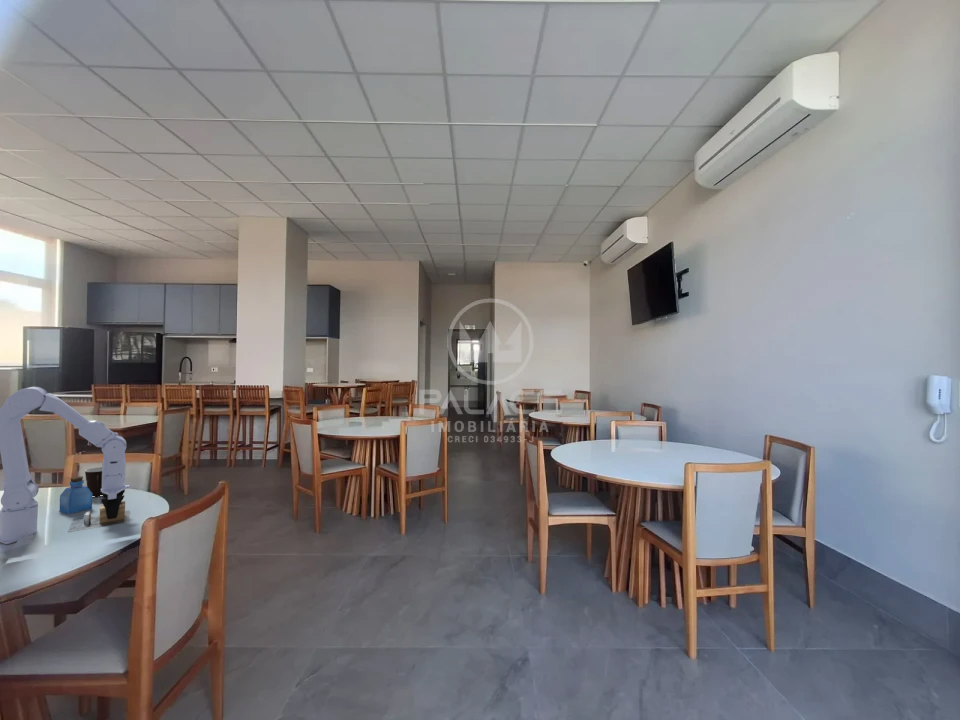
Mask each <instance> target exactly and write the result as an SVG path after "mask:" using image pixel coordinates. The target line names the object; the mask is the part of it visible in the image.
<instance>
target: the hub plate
mask: <svg viewBox="0 0 960 720" xmlns="http://www.w3.org/2000/svg"><path fill="white" fill-rule="evenodd" d="M130 512H131V510H129V509H128V510H125V519H121V520H115V521H109V522H103V523H100V514H99V515H92V513H91V511H85V513H83V517H80V518H73V519H72V521H71V524H70V525H69V528H68V530H67V533H71V532H72V533H73V532H77V531H83V530H89V529H96V528H101V527H106V526H107V527H108V526H113V525H118V524H119V525H120V524H126V523H130V514H131V513H130Z"/></svg>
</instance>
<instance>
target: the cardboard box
mask: <svg viewBox="0 0 960 720" xmlns="http://www.w3.org/2000/svg"><path fill="white" fill-rule="evenodd" d="M125 511H126V500H124V501H123V500H122V501H121V503H120V506H119V510H118V515H117V517H116V518H113V519H108V518H107V515H106V510H105V507H104V505H103V503H102V504H100V507H99V515H100V523H103V522H109V521H115V520H121V519H125Z"/></svg>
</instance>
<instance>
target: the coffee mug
mask: <svg viewBox="0 0 960 720" xmlns="http://www.w3.org/2000/svg"><path fill="white" fill-rule="evenodd" d="M84 473H85V480H86V486H87V487H88V489H89V490H90V491H91V492H92V496H100V495H102V494H103V493H102V492H101V489H102V466H98V467H93V468H88V469H85V470H84Z"/></svg>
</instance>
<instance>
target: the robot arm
mask: <svg viewBox="0 0 960 720" xmlns="http://www.w3.org/2000/svg"><path fill="white" fill-rule="evenodd" d="M39 407H40V408H39ZM37 408H39V409H38V410H39V411H42V412H50V413H55V414H56V415H58V416H59V417H60V418H61V419H63V420H65V421H67V422H69V424H71V425H73V426H75V427H76V428H78V435H79V436H80V437H82V438H83V439H85V440H86V441H88V442H89V443H91V444H92V445H94V446H95V447H96V448H101V452H102V453H103V460H102V466H101V467H102V489H101V492H102V493H103V494H102V495H103V496H101V498H100V502H101V503H102V504H103V505H104V507H105V510H106V515H107V518H108V519H113V518H116V517H117V515H118V510H119V506H120V503H121V502H122V501H123V499H124V498H125V495H124V494H125V492H126V489H130V488H131V487H130V484H126V465H127V464H126V463H127V459H126V450H127V440H126V439H125V438H124V437H123V436H121V435H119V433H118V432H114V431H113V430H111V429H110V428H108V427H107V426H105V425H106V423H105V422H104V421H98V420H97V419H96V420H89V419H88V418H86V417H85V416H84V415H82V414H81V413H79V412H78V411H77V410H76V409H74V408H73V407H72V406H70V405H69V404H68V403H67V402H65V401H64V400H62V399H61V398H59V396H56V395H54V394H53V393H51V392H48V391H47V390H46V389H44V388H42V387H40V386H30V387H26V388H21V389H19V390H17V391H15V392H13V393H12V394H11V395H10V396H8V397H7V398H6V400H5V402H4V403H3V405H2V406H1V407H0V458H1V464H2V470H3V475H4V479H3V494H2V496H1V497H0V498H1V499H0V503H1V508H0V543H1V544H5V545H9V544H13V543H16V542H18V541H19V539H20V538H24V537H28V536H32V535H34V534H35V533H37V532H38V512H39V511H38V510H39V502H38V501H36V500H35V497H36V496H37V495H38V493H39V489H40V488H39V485H38V484H37V483H36V482H35V481H34V480H33V476H32V473H31V472H30V468H29V463H28V457H27V450H26V446H25V440H24V435H23V429H22V422H21V420H22V419H23V418H25V417H26V416H27V415H28V414H29V413H30V412H31V411H33V410H35V409H37Z"/></svg>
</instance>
